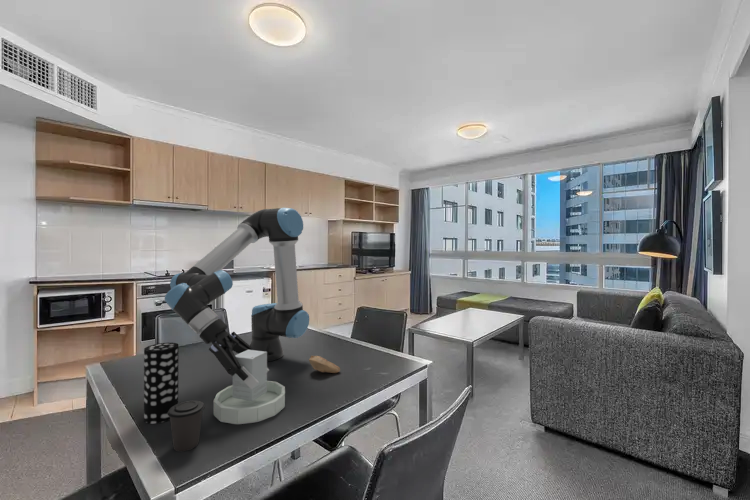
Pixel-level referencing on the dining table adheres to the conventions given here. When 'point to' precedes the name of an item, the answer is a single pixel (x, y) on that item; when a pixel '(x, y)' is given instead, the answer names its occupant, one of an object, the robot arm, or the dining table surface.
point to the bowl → (249, 405)
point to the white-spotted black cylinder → (160, 381)
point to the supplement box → (258, 368)
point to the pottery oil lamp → (323, 365)
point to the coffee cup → (186, 424)
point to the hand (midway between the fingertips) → (260, 379)
